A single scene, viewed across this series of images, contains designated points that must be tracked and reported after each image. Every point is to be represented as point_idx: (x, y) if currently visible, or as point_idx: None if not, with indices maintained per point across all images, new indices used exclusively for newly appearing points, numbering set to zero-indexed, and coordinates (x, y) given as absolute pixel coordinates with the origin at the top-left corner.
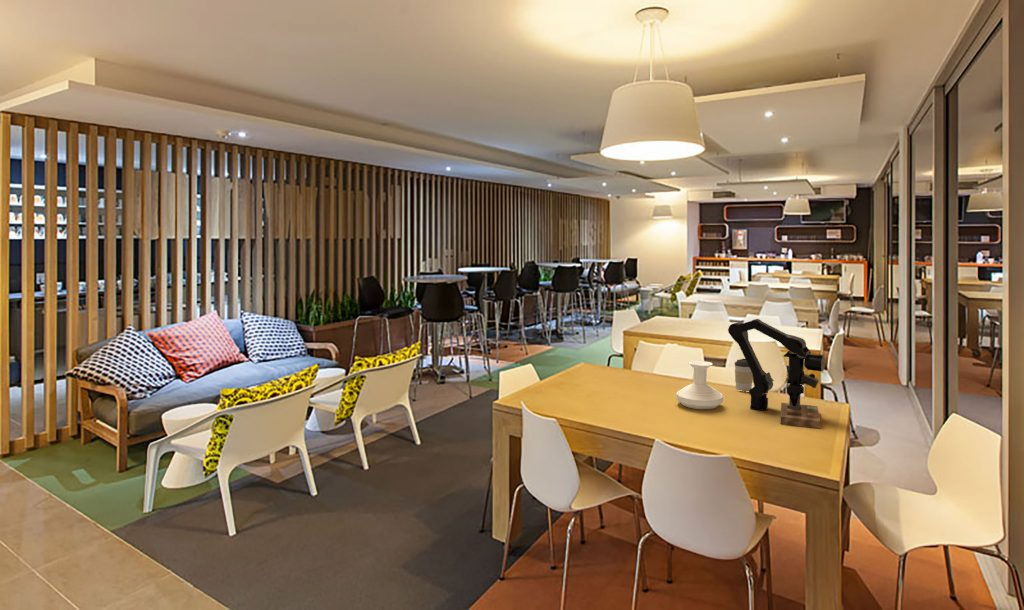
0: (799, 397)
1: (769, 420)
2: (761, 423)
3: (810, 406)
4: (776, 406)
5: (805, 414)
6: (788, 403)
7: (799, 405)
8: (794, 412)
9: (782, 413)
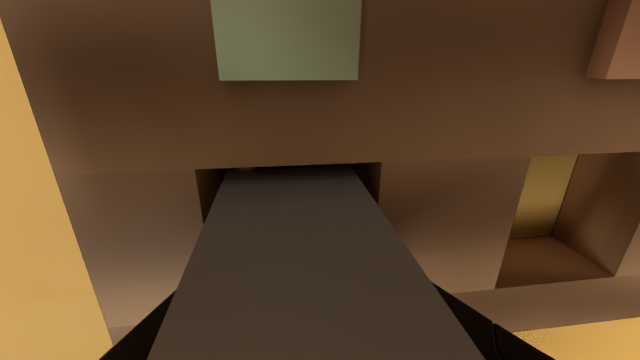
0: (447, 327)
1: (518, 333)
2: (586, 356)
3: (89, 14)
4: (66, 353)
5: (592, 108)
6: (115, 317)
7: (378, 211)
8: (510, 226)
9: (568, 315)
